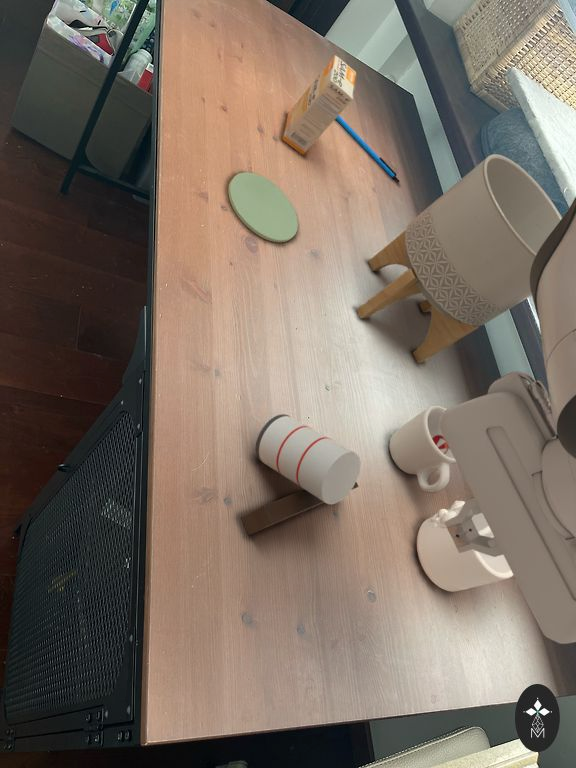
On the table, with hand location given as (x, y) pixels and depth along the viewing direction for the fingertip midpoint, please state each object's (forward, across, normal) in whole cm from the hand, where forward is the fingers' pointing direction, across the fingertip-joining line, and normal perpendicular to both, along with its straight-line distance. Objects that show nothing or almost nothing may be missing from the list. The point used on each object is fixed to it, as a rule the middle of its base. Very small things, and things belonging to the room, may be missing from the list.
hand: (454, 535), depth 55 cm
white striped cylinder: (+19, -13, 0) cm, 23 cm away
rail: (+19, -9, 0) cm, 21 cm away
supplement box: (+19, -66, +34) cm, 77 cm away
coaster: (+19, -50, +18) cm, 56 cm away
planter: (+19, -31, +37) cm, 52 cm away
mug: (+19, +4, +21) cm, 28 cm away
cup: (+19, -8, +22) cm, 30 cm away
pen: (+19, -66, +53) cm, 87 cm away
